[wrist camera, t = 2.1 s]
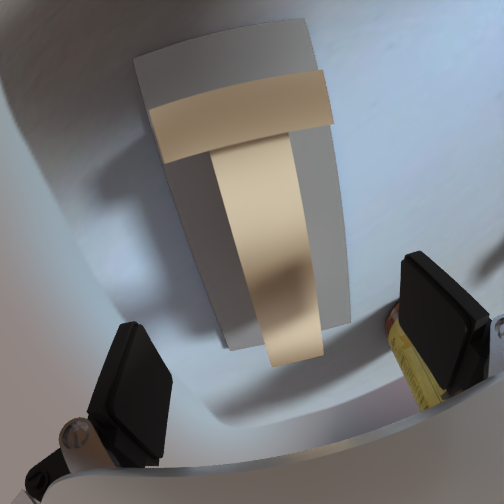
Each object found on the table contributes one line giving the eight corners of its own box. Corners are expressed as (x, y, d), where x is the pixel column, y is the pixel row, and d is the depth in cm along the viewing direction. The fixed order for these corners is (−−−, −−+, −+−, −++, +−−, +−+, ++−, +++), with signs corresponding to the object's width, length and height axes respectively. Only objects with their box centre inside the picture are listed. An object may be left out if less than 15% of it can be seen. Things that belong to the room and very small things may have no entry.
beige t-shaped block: (181, 109, 15) (148, 110, 9) (286, 84, 15) (322, 69, 9) (241, 308, 21) (246, 385, 15) (323, 289, 21) (354, 360, 15)
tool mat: (135, 60, 14) (132, 59, 13) (302, 20, 13) (304, 18, 13) (230, 346, 24) (230, 350, 23) (348, 317, 23) (350, 322, 23)
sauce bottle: (444, 282, 23) (570, 453, 5) (427, 333, 26) (517, 494, 8) (385, 291, 23) (507, 512, 5) (371, 346, 25) (451, 538, 8)
